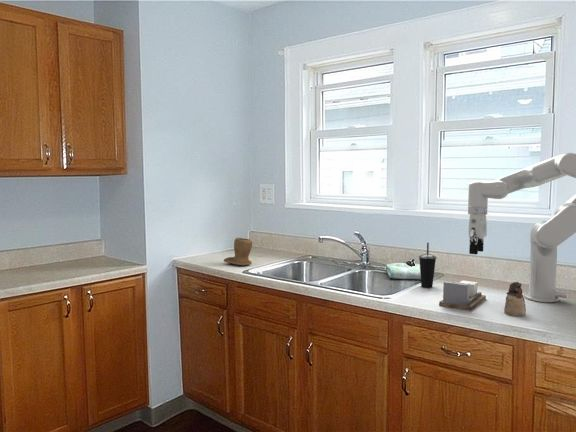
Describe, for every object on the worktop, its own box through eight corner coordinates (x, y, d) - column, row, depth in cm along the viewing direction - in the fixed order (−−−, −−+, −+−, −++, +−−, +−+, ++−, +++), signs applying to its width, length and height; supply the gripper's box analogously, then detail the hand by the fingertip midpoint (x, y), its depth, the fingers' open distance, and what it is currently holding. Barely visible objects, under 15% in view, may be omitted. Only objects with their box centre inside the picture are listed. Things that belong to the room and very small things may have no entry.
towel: (421, 271, 250) (421, 261, 250) (428, 281, 229) (429, 270, 229) (385, 271, 252) (385, 261, 251) (389, 280, 231) (389, 270, 230)
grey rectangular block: (469, 304, 184) (469, 284, 183) (466, 306, 182) (467, 285, 181) (445, 300, 189) (446, 280, 188) (443, 302, 187) (443, 282, 186)
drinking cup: (433, 289, 212) (434, 244, 210) (415, 287, 216) (416, 243, 214) (437, 285, 219) (438, 242, 217) (421, 283, 223) (421, 240, 221)
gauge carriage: (477, 294, 197) (477, 282, 197) (469, 299, 189) (470, 287, 189) (455, 291, 202) (456, 279, 202) (447, 296, 194) (448, 284, 194)
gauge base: (485, 299, 197) (485, 292, 196) (470, 311, 181) (470, 304, 180) (456, 294, 204) (456, 288, 204) (439, 305, 188) (439, 298, 188)
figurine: (519, 310, 181) (520, 279, 179) (529, 316, 174) (531, 284, 172) (500, 311, 180) (501, 279, 179) (510, 317, 173) (511, 284, 172)
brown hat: (257, 264, 269) (256, 237, 268) (241, 267, 261) (240, 240, 259) (238, 261, 280) (238, 235, 278) (223, 264, 271) (222, 237, 269)
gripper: (480, 212, 192) (479, 256, 194) (492, 209, 206) (491, 250, 208) (461, 211, 197) (460, 254, 199) (474, 208, 211) (473, 248, 212)
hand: (476, 252), depth 203 cm, fingers open, 7 cm apart
